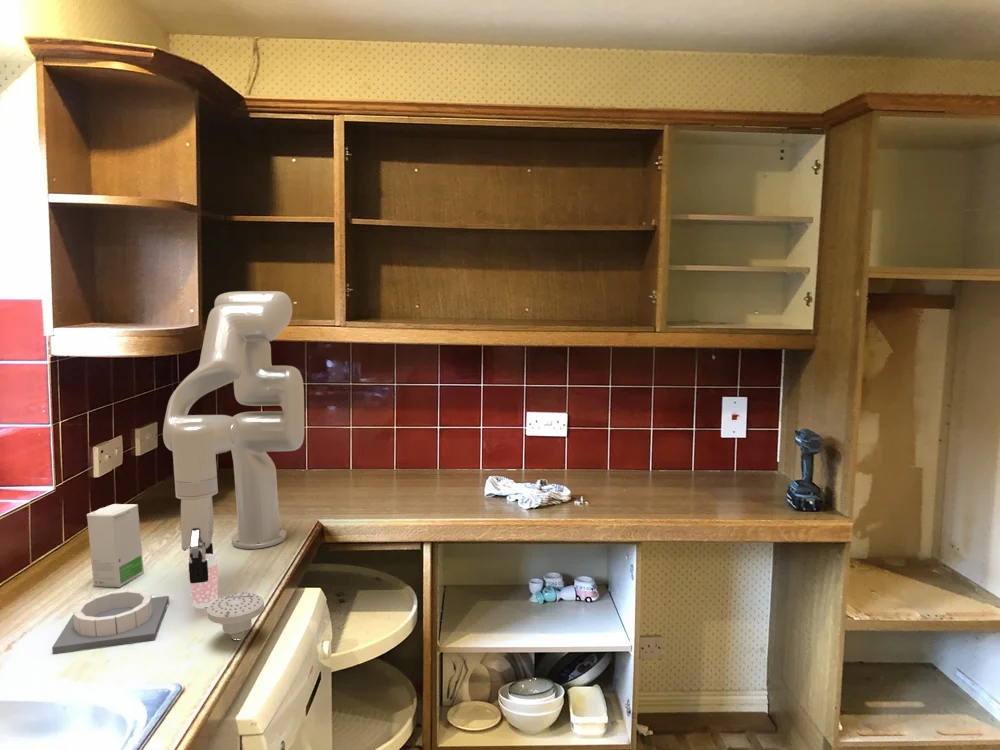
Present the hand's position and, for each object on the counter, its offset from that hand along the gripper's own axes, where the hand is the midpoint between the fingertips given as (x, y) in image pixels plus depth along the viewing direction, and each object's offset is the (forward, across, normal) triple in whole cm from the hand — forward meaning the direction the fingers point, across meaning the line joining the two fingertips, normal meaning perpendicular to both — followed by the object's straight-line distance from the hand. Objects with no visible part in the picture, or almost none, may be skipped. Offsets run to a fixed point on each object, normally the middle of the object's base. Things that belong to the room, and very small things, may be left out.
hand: (202, 572), depth 141 cm
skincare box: (+6, -18, -19) cm, 27 cm away
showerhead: (+7, +16, +7) cm, 19 cm away
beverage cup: (+7, 0, 0) cm, 7 cm away
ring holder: (+7, +4, -15) cm, 17 cm away
